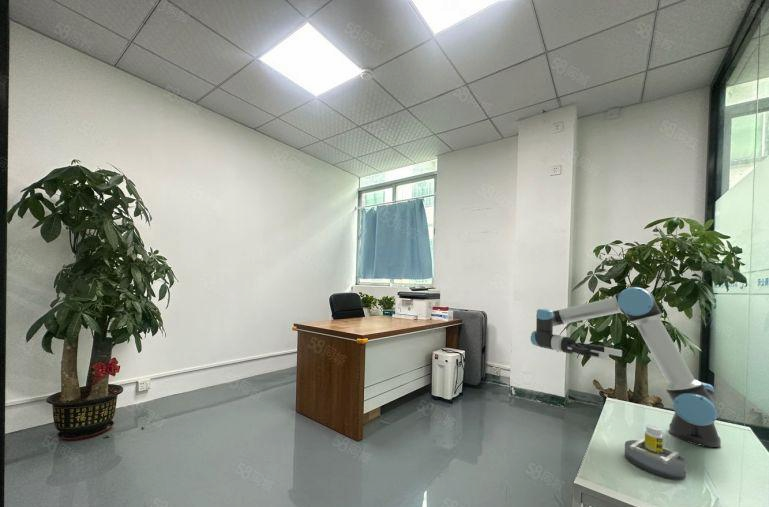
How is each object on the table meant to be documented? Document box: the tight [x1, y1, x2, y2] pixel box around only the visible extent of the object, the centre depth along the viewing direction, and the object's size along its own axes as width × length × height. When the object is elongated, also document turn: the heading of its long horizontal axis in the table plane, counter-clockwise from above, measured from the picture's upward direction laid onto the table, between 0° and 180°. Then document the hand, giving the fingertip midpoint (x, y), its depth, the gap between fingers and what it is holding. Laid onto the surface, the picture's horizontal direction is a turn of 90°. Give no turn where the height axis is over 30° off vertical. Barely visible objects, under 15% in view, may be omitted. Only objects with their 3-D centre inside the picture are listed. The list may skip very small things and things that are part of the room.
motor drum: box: [624, 438, 687, 481], centre depth 107 cm, size 16×16×5 cm
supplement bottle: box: [644, 424, 664, 456], centre depth 108 cm, size 5×5×8 cm
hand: (615, 355), depth 133 cm, fingers open, 13 cm apart
